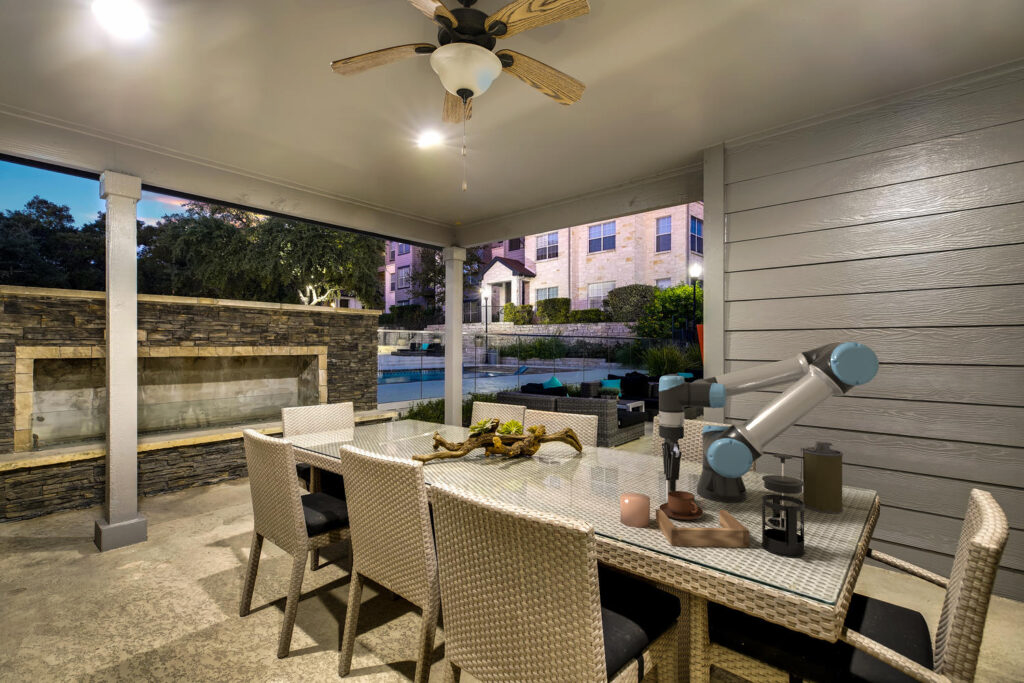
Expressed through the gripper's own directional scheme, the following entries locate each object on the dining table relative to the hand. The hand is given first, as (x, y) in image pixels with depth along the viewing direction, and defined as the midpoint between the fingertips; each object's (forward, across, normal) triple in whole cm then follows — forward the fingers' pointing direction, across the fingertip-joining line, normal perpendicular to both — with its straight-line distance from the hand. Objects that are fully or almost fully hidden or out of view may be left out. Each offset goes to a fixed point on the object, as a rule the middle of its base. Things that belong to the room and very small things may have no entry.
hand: (671, 500), depth 149 cm
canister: (+1, +2, +45) cm, 45 cm away
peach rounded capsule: (+1, +16, -15) cm, 22 cm away
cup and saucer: (+1, +10, 0) cm, 10 cm away
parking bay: (+1, +24, 0) cm, 24 cm away
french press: (+1, +33, +17) cm, 37 cm away
